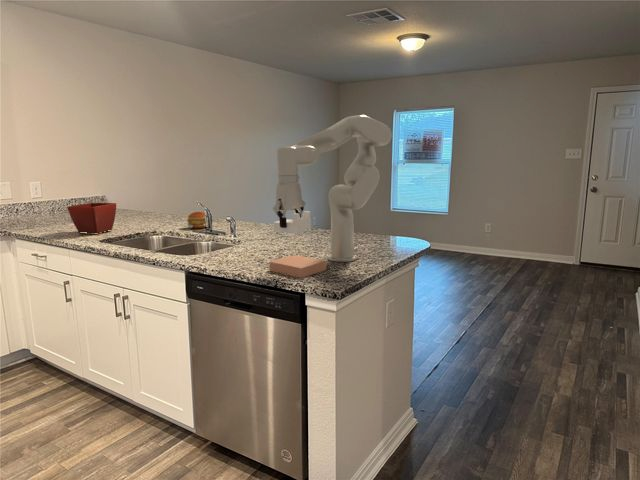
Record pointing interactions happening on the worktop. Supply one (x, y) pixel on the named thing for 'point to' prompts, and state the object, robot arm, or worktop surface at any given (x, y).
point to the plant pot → (93, 217)
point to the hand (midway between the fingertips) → (290, 225)
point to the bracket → (295, 224)
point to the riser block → (297, 266)
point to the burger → (196, 220)
